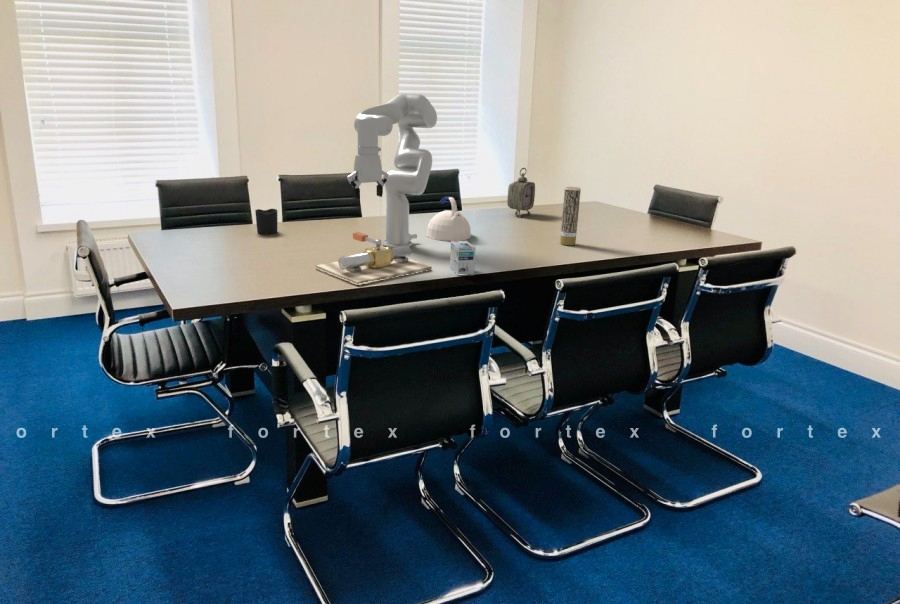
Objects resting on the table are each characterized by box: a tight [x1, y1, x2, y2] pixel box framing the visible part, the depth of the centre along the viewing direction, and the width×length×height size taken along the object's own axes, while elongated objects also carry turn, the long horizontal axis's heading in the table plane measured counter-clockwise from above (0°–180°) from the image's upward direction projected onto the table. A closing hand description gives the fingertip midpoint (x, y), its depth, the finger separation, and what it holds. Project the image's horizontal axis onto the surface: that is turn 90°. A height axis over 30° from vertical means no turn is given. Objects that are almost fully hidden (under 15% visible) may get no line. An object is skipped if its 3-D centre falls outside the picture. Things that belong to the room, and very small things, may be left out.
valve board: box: [315, 258, 433, 284], centre depth 255 cm, size 34×26×2 cm
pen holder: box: [254, 208, 278, 235], centre depth 305 cm, size 9×9×10 cm
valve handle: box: [352, 231, 382, 247], centre depth 256 cm, size 3×15×2 cm, turn 43°
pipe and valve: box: [338, 245, 412, 273], centre depth 253 cm, size 30×6×8 cm, turn 133°
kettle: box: [426, 195, 472, 242], centre depth 310 cm, size 20×21×18 cm
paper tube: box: [559, 186, 582, 247], centre depth 301 cm, size 7×7×25 cm
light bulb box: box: [449, 240, 476, 276], centre depth 256 cm, size 11×7×11 cm, turn 17°
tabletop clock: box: [506, 167, 536, 218], centre depth 360 cm, size 14×9×25 cm, turn 147°
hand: (368, 197), depth 260 cm, fingers open, 9 cm apart
